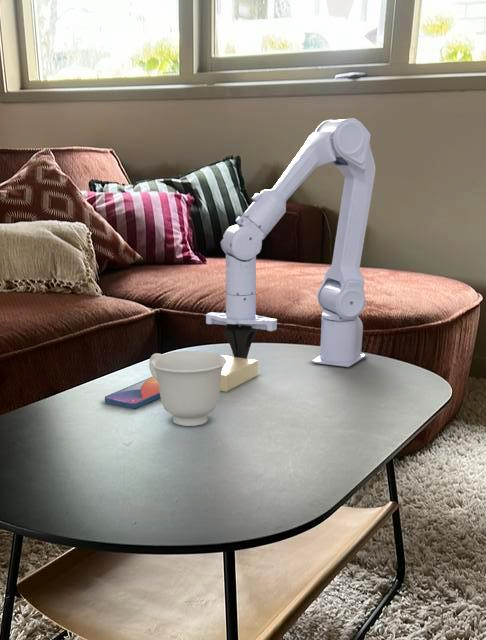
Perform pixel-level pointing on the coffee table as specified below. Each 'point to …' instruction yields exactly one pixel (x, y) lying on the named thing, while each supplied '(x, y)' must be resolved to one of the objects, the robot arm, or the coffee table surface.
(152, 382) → the smartphone
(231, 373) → the book
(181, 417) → the teacup
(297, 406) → the coffee table surface
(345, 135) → the robot arm
